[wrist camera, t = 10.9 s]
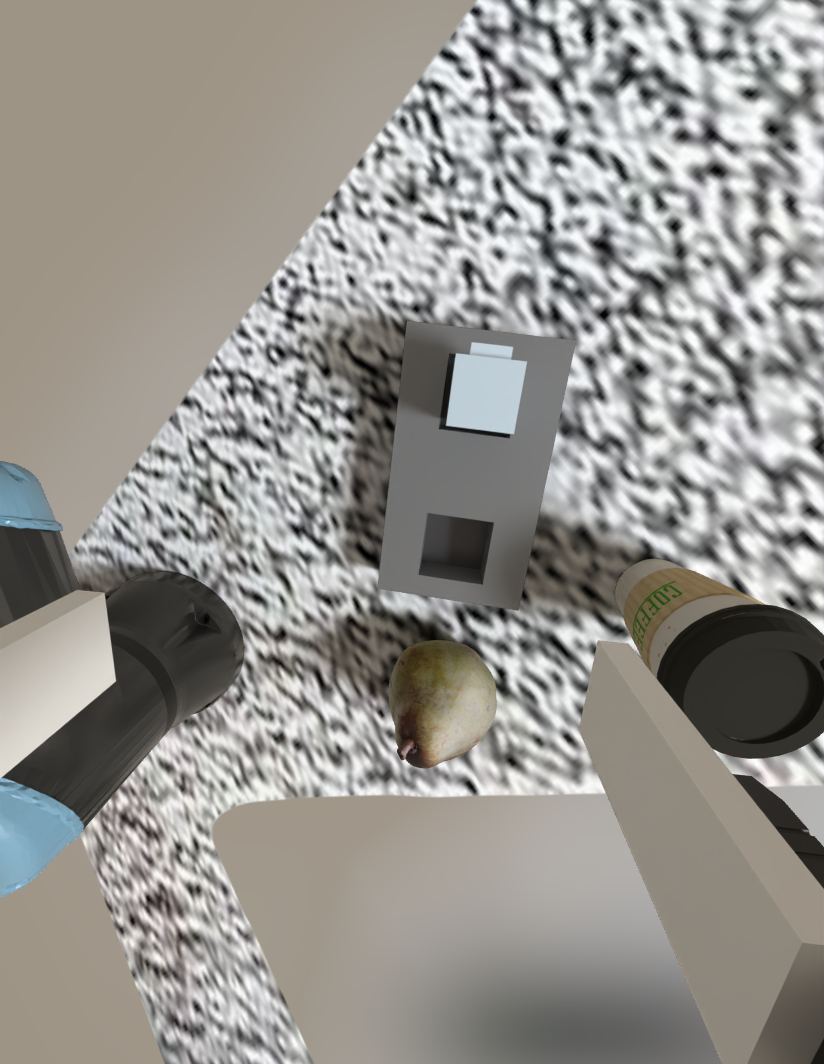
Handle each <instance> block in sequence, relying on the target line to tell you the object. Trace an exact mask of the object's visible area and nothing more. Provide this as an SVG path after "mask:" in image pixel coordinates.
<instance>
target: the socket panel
mask: <svg viewBox="0 0 824 1064" xmlns="http://www.w3.org/2000/svg"><path fill="white" fill-rule="evenodd" d="M472 342H475V343H484V344H492V345H501V346H510V347H513V351H512V357H511V360H518V361H526V362H527V365H526V371H525V376H524V382H523V387H522V393H521V398H520V404H519V409H518V415H517V420H516V426H515V431H514V434H508V433H500V432H493V431H485V430H477V429H469V428H461V427H453V426H446V422H447V415H448V408H449V401H450V393H451V386H452V379H453V371H454V364H455V357H456V353H458V354H466V355H469V354H470V347H471V343H472ZM575 343H576V341H573V340H564V339H556V338H548V337H539V336H531V335H522V334H514V333H506V332H497V331H489V330H480V329H472V328H463V327H455V326H447V325H438V324H430V323H421V322H413V321H407V325H406V334H405V343H404V352H403V362H402V371H401V380H400V389H399V398H398V407H397V416H396V425H395V434H394V443H393V452H392V461H391V470H390V479H389V489H388V498H387V507H386V516H385V525H384V534H383V543H382V552H381V561H380V570H379V579H378V588H377V589H384V590H390V591H397V592H403V593H409V594H416V595H422V596H429V597H435V598H442V599H448V600H454V601H461V602H467V603H474V604H480V605H486V606H493V607H499V608H506V609H512V610H519V605H520V601H521V596H522V591H523V586H524V582H525V577H526V572H527V568H528V563H529V558H530V554H531V549H532V544H533V540H534V535H535V530H536V526H537V521H538V516H539V512H540V507H541V502H542V498H543V493H544V488H545V484H546V479H547V474H548V470H549V465H550V460H551V456H552V451H553V446H554V442H555V437H556V432H557V428H558V423H559V418H560V414H561V409H562V404H563V400H564V395H565V390H566V386H567V381H568V376H569V371H570V367H571V362H572V357H573V353H574V348H575Z"/></svg>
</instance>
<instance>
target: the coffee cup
mask: <svg viewBox="0 0 824 1064" xmlns="http://www.w3.org/2000/svg"><path fill="white" fill-rule="evenodd" d="M615 599H616V603H617V605H618V607H619V609H620V611H621V613H622V615H623V617H624V621H625V624H626V626H627V628H628V631H629V633H630V635H631V637H632V639H633V641H634V643H635V645H636V647H637V649H638V651H639V653H640V655H641V657H642V659H643V661H644V663H645V665H646V666H647V668H648V669H649V670H650V671H651V673H652V674H653V675H654V676H655V678H656V679H657V680H658V681H659V683H660V684H661V685H662V686H663V688H664V689H665V690H666V691H667V693H668V694H669V695H670V696H671V698H672V699H673V700H674V702H675V703H676V704H677V705H678V707H679V708H680V709H681V710H682V712H683V713H684V714H685V715H686V717H687V718H688V719H689V720H690V722H691V723H692V724H693V725H694V727H695V728H696V729H697V730H698V732H699V733H700V734H701V735H702V737H703V738H704V739H705V740H706V742H707V743H708V744H709V745H710V747H711V748H712V749H714V750H716V751H718V752H720V753H723V754H727V755H730V756H733V757H740V758H747V759H754V758H768V757H775V756H780V755H783V754H786V753H789V752H792V751H795V750H797V749H799V748H801V747H803V746H805V745H807V744H808V743H810V742H811V741H813V740H814V739H816V738H817V737H819V736H820V735H821V734H822V733H823V732H824V635H823V634H822V633H821V632H820V631H819V630H818V629H817V628H816V627H815V626H814V625H813V624H811V623H810V622H809V621H808V620H807V619H806V618H804V617H802V616H800V615H798V614H796V613H795V612H793V611H791V610H787V609H784V608H781V607H777V606H772V605H765V604H764V603H762V602H760V601H758V600H756V599H754V598H752V597H750V596H748V595H746V594H743V593H741V592H739V591H737V590H735V589H732V588H730V587H728V586H726V585H724V584H721V583H719V582H717V581H715V580H712V579H710V578H708V577H706V576H704V575H701V574H699V573H697V572H695V571H692V570H688V569H684V568H682V567H680V566H678V565H676V564H674V563H672V562H669V561H666V560H662V559H647V560H643V561H640V562H638V563H636V564H634V565H632V566H631V567H629V568H628V569H627V570H626V571H625V572H624V573H623V574H622V575H621V577H620V578H619V580H618V582H617V584H616V589H615Z"/></svg>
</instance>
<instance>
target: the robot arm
mask: <svg viewBox="0 0 824 1064" xmlns="http://www.w3.org/2000/svg"><path fill="white" fill-rule="evenodd" d="M62 530H63V529H62V525H61V524H60V523H58V522H57V521H56V520H55V517H54V515H53V513H52V510H51V508H50V505H49V503H48V501H47V498H46V496H45V493H44V491H43V489H42V486H41V484H40V482H39V481H38V479H37V478H36V477H35V476H34V475H33V474H32V473H31V472H30V471H28V470H27V469H25V468H23V467H21V466H19V465H16V464H12V463H8V462H2V461H0V898H1V897H4V896H6V895H9V894H11V893H13V892H15V891H17V890H19V889H20V888H22V887H24V886H25V885H27V884H28V883H29V882H30V881H32V880H33V879H34V878H35V877H36V876H37V875H38V874H39V873H40V872H41V871H42V870H43V869H44V868H45V867H46V866H47V865H48V864H49V863H50V862H51V861H52V860H53V859H54V858H55V857H56V856H57V855H58V854H59V853H60V852H61V851H62V850H63V849H64V848H65V847H66V846H67V845H68V844H69V843H71V842H73V841H75V840H76V839H77V838H78V837H79V835H80V834H81V832H82V830H83V829H84V828H85V827H86V826H87V825H88V823H89V822H90V821H91V820H92V819H93V818H94V816H95V815H96V814H97V813H98V812H99V811H100V809H101V808H102V807H103V806H104V805H105V804H106V802H107V801H108V800H109V799H110V798H111V797H112V796H113V794H114V793H115V792H116V791H117V790H118V789H119V787H120V786H121V785H122V784H123V783H124V782H125V780H126V779H127V778H128V777H129V776H130V775H131V773H132V772H133V771H134V770H135V769H136V768H137V766H138V765H139V764H140V763H141V762H142V761H143V759H144V758H145V757H146V756H147V755H148V754H149V752H150V751H151V750H152V749H153V748H154V747H155V746H156V744H157V743H158V742H159V741H160V740H161V739H162V737H163V736H164V735H165V734H166V733H167V732H168V731H169V730H170V729H171V728H173V727H175V726H176V725H178V724H180V723H181V722H183V721H184V720H186V719H187V718H188V717H190V716H191V715H192V714H195V713H198V712H200V711H203V710H205V709H206V708H208V707H210V706H211V705H213V704H214V703H215V702H216V701H218V700H219V699H220V698H221V697H222V696H223V695H224V694H225V692H226V691H227V690H228V689H229V687H230V686H231V685H232V684H233V683H234V681H235V680H236V678H237V677H238V675H239V673H240V670H241V668H242V664H243V659H244V642H243V636H242V633H241V630H240V627H239V624H238V622H237V620H236V618H235V616H234V615H233V613H232V612H231V610H230V609H229V607H228V606H227V605H226V603H225V602H224V601H223V600H222V599H221V598H220V597H219V596H218V595H217V594H216V593H214V592H213V591H212V590H211V589H209V588H208V587H206V586H205V585H203V584H202V583H200V582H198V581H196V580H194V579H192V578H189V577H187V576H184V575H180V574H177V573H171V572H149V573H144V574H140V575H137V576H135V577H133V578H131V579H129V580H127V581H125V582H123V583H121V584H119V585H118V586H116V587H114V588H113V589H111V590H110V591H109V592H107V593H106V594H105V593H103V592H92V591H82V590H80V587H79V585H78V582H77V579H76V576H75V573H74V570H73V567H72V565H71V562H70V559H69V556H68V553H67V550H66V547H65V545H64V542H63V539H62V536H61V533H60V531H62ZM579 731H580V734H581V736H582V738H583V741H584V743H585V745H586V748H587V750H588V752H589V755H590V757H591V759H592V762H593V764H594V766H595V769H596V771H597V773H598V776H599V778H600V780H601V783H602V785H603V787H604V790H605V792H606V794H607V796H608V799H609V801H610V804H611V806H612V808H613V810H614V813H615V815H616V818H617V820H618V822H619V825H620V827H621V829H622V831H623V834H624V836H625V838H626V841H627V843H628V846H629V848H630V850H631V853H632V855H633V857H634V860H635V862H636V864H637V866H638V869H639V871H640V874H641V876H642V878H643V881H644V883H645V885H646V887H647V890H648V892H649V894H650V897H651V899H652V902H653V904H654V906H655V909H656V911H657V913H658V916H659V918H660V920H661V923H662V925H663V927H664V929H665V931H666V934H667V937H668V939H669V941H670V943H671V946H672V948H673V951H674V953H675V955H676V958H677V960H678V962H679V965H680V967H681V969H682V971H683V974H684V976H685V979H686V981H687V983H688V986H689V988H690V990H691V992H692V995H693V997H694V999H695V1002H696V1004H697V1006H698V1009H699V1011H700V1014H701V1016H702V1018H703V1021H704V1023H705V1025H706V1027H707V1030H708V1032H709V1035H710V1037H711V1039H712V1042H713V1044H714V1046H715V1049H716V1051H717V1053H718V1056H719V1058H720V1060H721V1062H722V1064H824V847H823V846H822V845H821V843H820V842H819V841H818V840H817V839H816V838H815V837H814V836H811V835H810V834H809V830H808V828H807V827H806V826H805V825H804V824H803V823H802V822H801V820H800V819H799V818H798V817H797V816H796V815H795V813H794V812H793V811H792V810H791V809H790V808H789V807H788V805H787V804H786V803H785V802H784V801H783V800H782V799H780V798H779V797H778V796H776V795H775V794H774V793H773V792H771V791H770V790H769V789H767V788H766V787H765V786H764V785H762V784H761V783H760V782H758V781H757V780H756V779H755V778H753V777H752V776H745V775H736V774H732V773H731V772H730V771H729V769H728V768H727V767H726V766H725V764H724V763H723V762H722V761H721V759H720V758H719V757H718V756H717V754H716V753H715V752H714V750H713V749H712V748H711V747H710V745H709V744H708V743H707V742H706V740H705V739H704V738H703V737H702V735H701V734H700V733H699V732H698V730H697V729H696V728H695V727H694V725H693V724H692V723H691V722H690V720H689V719H688V718H687V717H686V715H685V714H684V713H683V712H682V710H681V709H680V708H679V707H678V705H677V704H676V703H675V702H674V700H673V699H672V698H671V696H670V695H669V694H668V693H667V691H666V690H665V689H664V688H663V686H662V685H661V684H660V683H659V681H658V680H657V679H656V678H655V676H654V675H653V674H652V673H651V671H650V670H649V669H648V668H647V666H646V665H645V664H644V663H643V661H642V660H641V659H640V658H639V656H638V655H637V654H636V653H635V651H634V650H633V649H632V647H631V646H630V645H629V644H628V643H618V642H608V641H598V643H597V648H596V653H595V657H594V662H593V667H592V671H591V676H590V681H589V685H588V690H587V695H586V699H585V704H584V709H583V713H582V718H581V723H580V727H579Z"/></svg>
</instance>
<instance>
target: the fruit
mask: <svg viewBox="0 0 824 1064" xmlns="http://www.w3.org/2000/svg"><path fill="white" fill-rule="evenodd" d="M389 704H390V710H391V714H392V718H393V721H394V724H395V736H396V743H397V745H398V747H399V748H398V749H397V753H398V755H399V757H400V759H401V760H404V759H406V760H407V762H408V763H410V764H411V765H413V766H415V767H418V768H430V767H433V766H435V765H437V764H439V763H441V762H443V761H447V760H451V759H453V758H456V757H458V756H460V755H462V754H463V753H465V752H466V751H468V750H470V749H471V748H473V747H474V746H475V745H476V744H477V743H478V742H479V741H480V740H481V739H482V737H483V736H484V735H485V733H486V732H487V731H488V729H489V728H490V726H491V724H492V722H493V719H494V717H495V713H496V708H497V707H496V706H497V701H496V687H495V682H494V679H493V676H492V674H491V672H490V671H489V669H488V667H487V666H486V665H485V664H484V662H483V661H482V660H481V658H480V657H479V655H478V654H477V653H476V652H475V651H474V650H473V649H471V648H470V647H468V646H466V645H464V644H461V643H458V642H454V641H445V640H432V641H425V642H419V643H416V644H413V645H411V646H409V647H408V648H407V649H405V650H404V651H403V652H402V654H401V655H400V656H399V658H398V660H397V662H396V664H395V666H394V669H393V672H392V675H391V678H390V682H389Z"/></svg>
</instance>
